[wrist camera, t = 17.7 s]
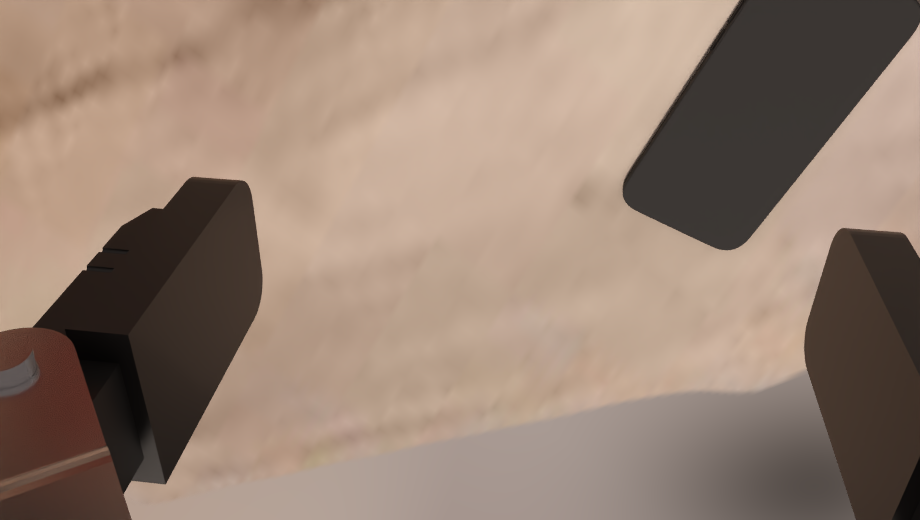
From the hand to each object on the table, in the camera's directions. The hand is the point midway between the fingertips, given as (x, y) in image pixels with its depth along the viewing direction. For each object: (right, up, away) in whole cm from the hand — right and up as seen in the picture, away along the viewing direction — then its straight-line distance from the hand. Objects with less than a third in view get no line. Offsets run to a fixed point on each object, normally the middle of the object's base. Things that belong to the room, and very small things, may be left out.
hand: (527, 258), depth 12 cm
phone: (+14, +8, +30) cm, 34 cm away
